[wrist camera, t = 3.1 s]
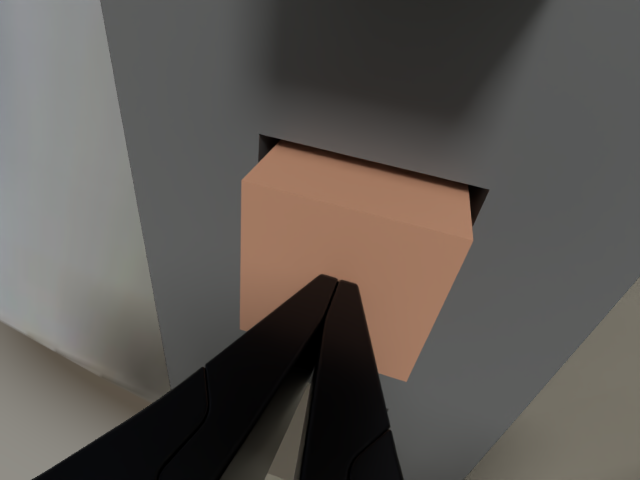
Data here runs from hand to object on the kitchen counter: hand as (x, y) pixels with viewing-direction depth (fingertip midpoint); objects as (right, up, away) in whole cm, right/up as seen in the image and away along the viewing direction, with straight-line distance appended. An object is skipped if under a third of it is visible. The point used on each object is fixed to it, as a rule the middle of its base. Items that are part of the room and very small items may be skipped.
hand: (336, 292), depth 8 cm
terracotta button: (+1, +2, +3) cm, 3 cm away
